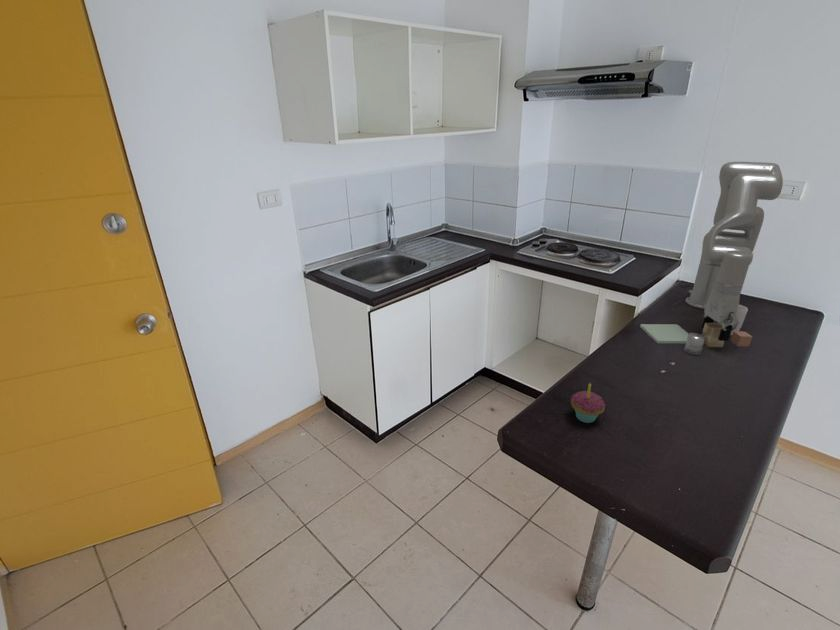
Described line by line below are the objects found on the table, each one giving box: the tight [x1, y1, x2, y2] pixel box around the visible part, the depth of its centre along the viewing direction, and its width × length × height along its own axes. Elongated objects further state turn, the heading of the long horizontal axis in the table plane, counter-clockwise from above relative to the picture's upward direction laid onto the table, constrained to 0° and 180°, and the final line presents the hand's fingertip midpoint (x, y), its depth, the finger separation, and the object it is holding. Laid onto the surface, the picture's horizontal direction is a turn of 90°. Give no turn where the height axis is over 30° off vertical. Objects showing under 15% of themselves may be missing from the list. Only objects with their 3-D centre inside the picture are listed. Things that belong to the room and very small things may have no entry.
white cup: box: [720, 304, 749, 336], centre depth 163 cm, size 8×8×10 cm
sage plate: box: [639, 323, 689, 345], centre depth 163 cm, size 14×14×1 cm
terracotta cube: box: [730, 330, 753, 348], centre depth 155 cm, size 4×4×4 cm
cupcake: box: [570, 383, 606, 424], centre depth 115 cm, size 9×8×12 cm
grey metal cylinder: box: [683, 332, 705, 356], centre depth 150 cm, size 5×5×6 cm
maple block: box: [701, 322, 725, 348], centre depth 155 cm, size 5×5×7 cm
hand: (714, 334), depth 154 cm, fingers open, 9 cm apart
